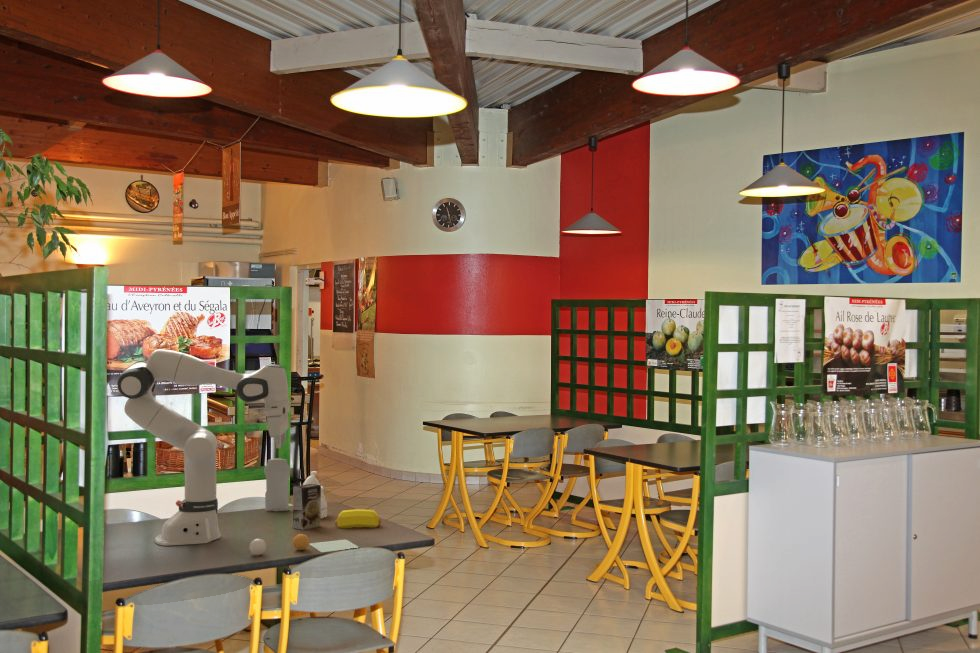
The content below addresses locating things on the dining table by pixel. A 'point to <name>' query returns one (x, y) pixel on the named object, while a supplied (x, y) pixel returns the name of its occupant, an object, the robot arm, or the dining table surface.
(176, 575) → the dining table surface
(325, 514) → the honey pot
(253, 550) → the cue ball
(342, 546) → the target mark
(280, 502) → the tall pale column
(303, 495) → the coffee box
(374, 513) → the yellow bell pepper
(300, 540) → the object ball
